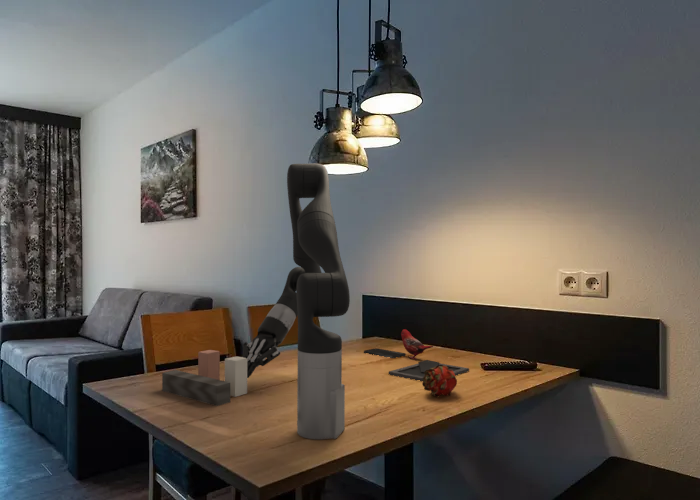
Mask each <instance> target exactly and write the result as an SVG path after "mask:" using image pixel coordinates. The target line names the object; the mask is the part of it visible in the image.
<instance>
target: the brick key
mask: <svg viewBox="0 0 700 500" xmlns="http://www.w3.org/2000/svg"><path fill="white" fill-rule="evenodd" d="M197 353H198V354H197V355H198V357H197V358H198V361H197V362H198V365H197V367H198V368H197V369H198V370H197V371H198V372H197V373H198V374H197V375H200V376H204V377H209V378H213V379H217V380H221V378H220V375H221V373H220V365H221V363H220V360H221V359H220V355H221V354H220V353H221V352H220V351H219V350H213V349H207V350H202V351H198V352H197Z"/></svg>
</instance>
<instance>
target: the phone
mask: <svg viewBox="0 0 700 500" xmlns="http://www.w3.org/2000/svg"><path fill="white" fill-rule="evenodd" d="M366 353H369V354H368V355H371V354H374V356H377V355H379V356H378V357H382V356H384V357H383V358H387V357H390V358H389V359H397V358H396V357H398V358H400V356H403V357H406V356H405V355H406V354H407V353H406V352H399V351H394V350H388V349H382V348H378V347H377V348H375V347H374V348H371V349H365V350H363V354H366Z"/></svg>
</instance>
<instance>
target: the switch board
mask: <svg viewBox="0 0 700 500" xmlns="http://www.w3.org/2000/svg"><path fill="white" fill-rule="evenodd" d="M161 379H162V381H161V383H162V385H161V387H162V388H161V389H162V392H164V393H168V394H172V395H176V396H179V397H181V398H182V397H183V398H186V399H190V400H194V401H197V402H201V403H204V404H208V405H212V406H215V407H219V406H222V405H226V404H230V403H231V396H230V382H226V381H225V380H222V379H220V380H217V379H213V378H209V377H204V376H200V375H198V374H195V373H190V372H186V371H183V370H182V371H181V370H176V369H175V370H174V369H173V370H169V371H164V372H162V378H161Z"/></svg>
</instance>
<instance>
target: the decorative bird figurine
mask: <svg viewBox="0 0 700 500" xmlns="http://www.w3.org/2000/svg"><path fill="white" fill-rule="evenodd" d="M400 335H401V339H402V344H403V346H404V349H405V350H406V352H407V353H408V354H410V355H412V356H409V355H408V356H407V357H408V358H410V359H411V360H418V359H417V356H418V355H420V354H422V353H424V352H425V350H428V349H431V348H434V346H433V345H424V343H422V342H421V341H419V340H418V339H417V338H415V337H414V336H412V334H411V332H410V331H408V330H407V329H406V328H405V329H402V331H401V333H400Z"/></svg>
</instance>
